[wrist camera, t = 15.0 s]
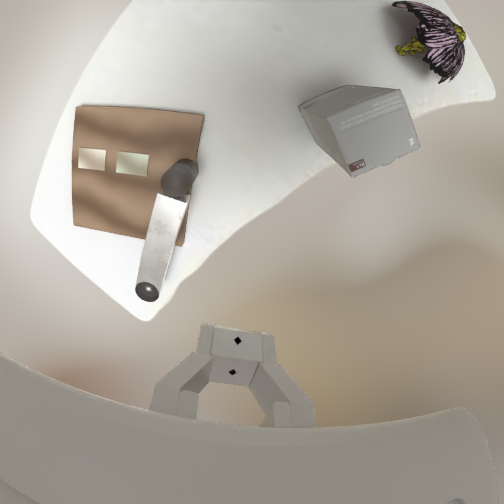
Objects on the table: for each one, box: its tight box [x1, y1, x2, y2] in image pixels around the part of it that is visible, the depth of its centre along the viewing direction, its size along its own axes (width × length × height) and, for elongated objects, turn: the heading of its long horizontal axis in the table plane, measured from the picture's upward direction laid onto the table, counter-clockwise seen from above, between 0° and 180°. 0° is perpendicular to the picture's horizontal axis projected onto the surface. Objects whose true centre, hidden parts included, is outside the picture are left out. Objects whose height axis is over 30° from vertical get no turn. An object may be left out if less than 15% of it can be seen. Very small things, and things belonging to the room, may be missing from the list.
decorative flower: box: [392, 1, 466, 84], centre depth 23 cm, size 14×12×15 cm
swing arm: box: [135, 189, 191, 302], centre depth 40 cm, size 18×4×3 cm, turn 157°
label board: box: [72, 106, 204, 247], centre depth 35 cm, size 20×21×8 cm
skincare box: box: [298, 85, 420, 178], centre depth 28 cm, size 8×7×16 cm
